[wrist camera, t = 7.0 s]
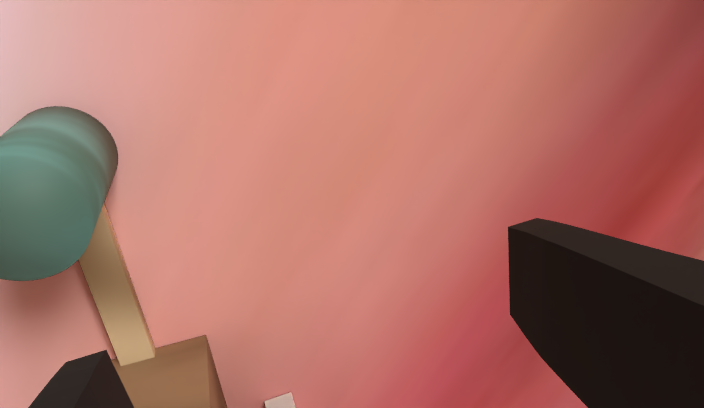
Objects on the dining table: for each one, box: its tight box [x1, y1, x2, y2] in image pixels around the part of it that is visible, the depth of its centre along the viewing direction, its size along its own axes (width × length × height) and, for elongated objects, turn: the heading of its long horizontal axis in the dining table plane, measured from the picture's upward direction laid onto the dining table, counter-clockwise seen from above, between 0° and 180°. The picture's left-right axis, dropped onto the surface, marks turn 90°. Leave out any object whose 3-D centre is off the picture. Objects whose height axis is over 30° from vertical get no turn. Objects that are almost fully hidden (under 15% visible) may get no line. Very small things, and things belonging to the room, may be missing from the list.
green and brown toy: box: [0, 106, 227, 408], centre depth 15 cm, size 14×5×6 cm, turn 6°
